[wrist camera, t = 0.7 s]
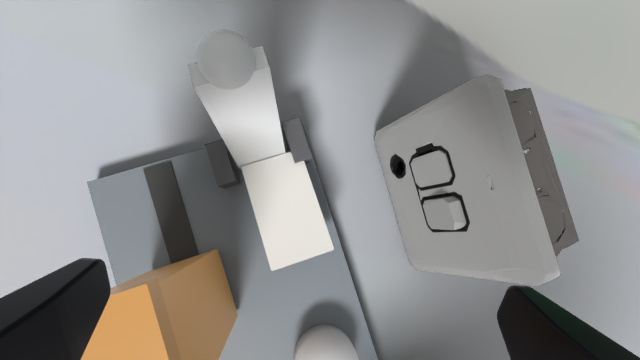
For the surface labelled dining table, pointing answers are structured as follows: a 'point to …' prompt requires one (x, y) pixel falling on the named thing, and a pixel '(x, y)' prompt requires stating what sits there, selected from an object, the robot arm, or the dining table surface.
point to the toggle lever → (238, 96)
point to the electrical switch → (477, 186)
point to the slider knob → (167, 314)
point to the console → (234, 252)
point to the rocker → (286, 210)
